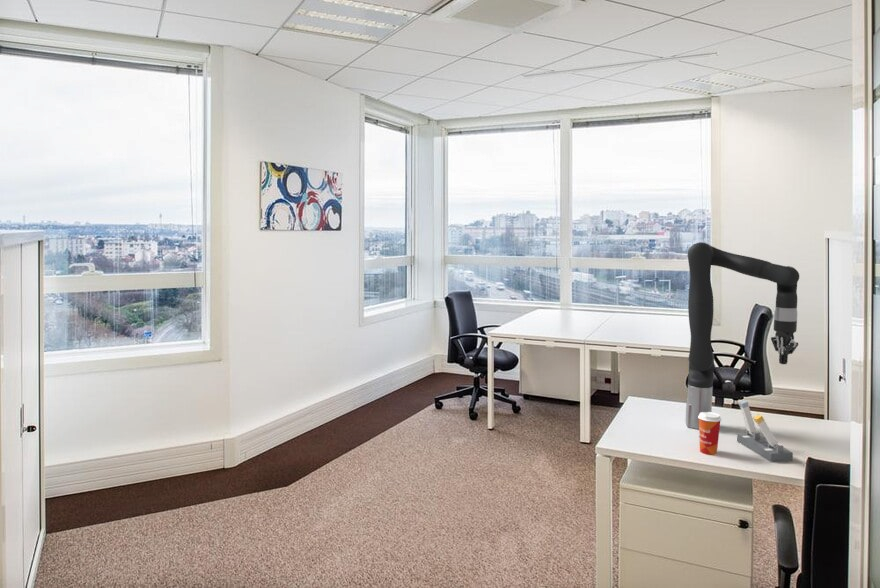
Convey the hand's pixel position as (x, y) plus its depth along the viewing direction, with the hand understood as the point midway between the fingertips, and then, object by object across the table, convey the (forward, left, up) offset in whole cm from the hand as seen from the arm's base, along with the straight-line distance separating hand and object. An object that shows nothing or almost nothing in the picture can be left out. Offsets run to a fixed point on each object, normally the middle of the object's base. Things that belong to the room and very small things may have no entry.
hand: (783, 363), depth 224 cm
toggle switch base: (-10, -17, -29) cm, 35 cm away
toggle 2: (-7, -23, -25) cm, 35 cm away
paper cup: (-29, -23, -29) cm, 47 cm away
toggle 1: (-12, -11, -25) cm, 30 cm away
